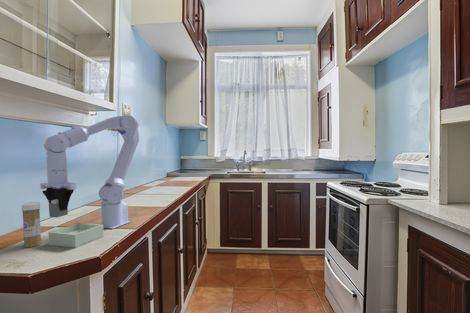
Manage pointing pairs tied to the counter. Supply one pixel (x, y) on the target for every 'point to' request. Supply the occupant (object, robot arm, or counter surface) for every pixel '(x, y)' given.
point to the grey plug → (56, 209)
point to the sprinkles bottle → (31, 224)
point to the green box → (76, 235)
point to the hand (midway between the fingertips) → (59, 209)
